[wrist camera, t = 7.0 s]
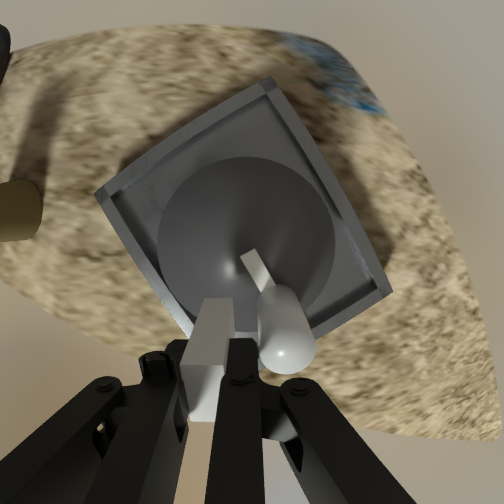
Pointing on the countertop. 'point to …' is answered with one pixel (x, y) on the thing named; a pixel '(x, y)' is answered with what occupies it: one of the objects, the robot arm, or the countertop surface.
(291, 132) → the dark grey tray
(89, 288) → the countertop surface
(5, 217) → the cork
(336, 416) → the robot arm
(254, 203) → the lever
